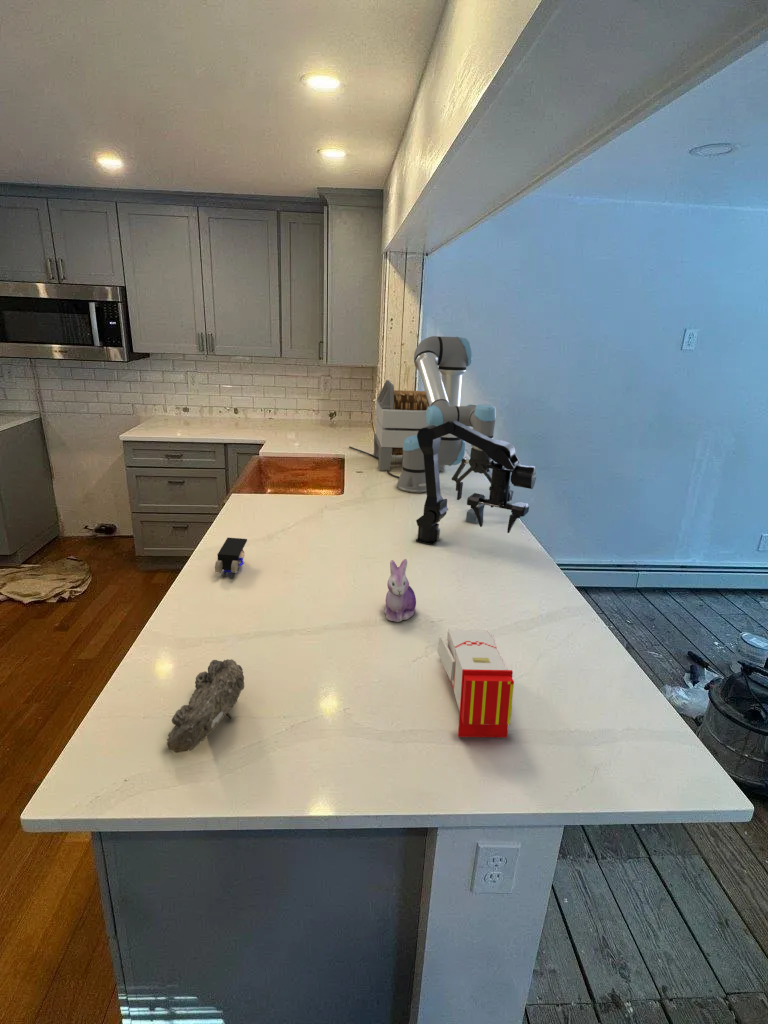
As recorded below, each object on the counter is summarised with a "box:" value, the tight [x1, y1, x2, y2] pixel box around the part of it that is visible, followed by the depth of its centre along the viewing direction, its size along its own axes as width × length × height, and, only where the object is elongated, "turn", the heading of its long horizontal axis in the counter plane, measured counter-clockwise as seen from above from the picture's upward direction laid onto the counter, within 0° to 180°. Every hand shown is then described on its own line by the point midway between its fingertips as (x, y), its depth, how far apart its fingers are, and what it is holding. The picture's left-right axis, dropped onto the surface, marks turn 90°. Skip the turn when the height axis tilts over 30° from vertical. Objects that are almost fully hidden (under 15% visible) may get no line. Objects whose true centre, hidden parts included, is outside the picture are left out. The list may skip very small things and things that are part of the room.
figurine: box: [384, 558, 417, 623], centre depth 145 cm, size 9×10×15 cm
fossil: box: [166, 658, 245, 754], centre depth 106 cm, size 22×10×15 cm
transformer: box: [372, 379, 446, 472], centre depth 285 cm, size 34×33×41 cm
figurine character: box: [214, 537, 248, 578], centre depth 166 cm, size 7×8×15 cm
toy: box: [437, 628, 515, 738], centre depth 117 cm, size 12×13×30 cm
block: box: [465, 508, 479, 525], centre depth 215 cm, size 4×4×4 cm
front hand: (494, 529), depth 182 cm, fingers open, 9 cm apart
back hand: (475, 502), depth 215 cm, fingers open, 13 cm apart
